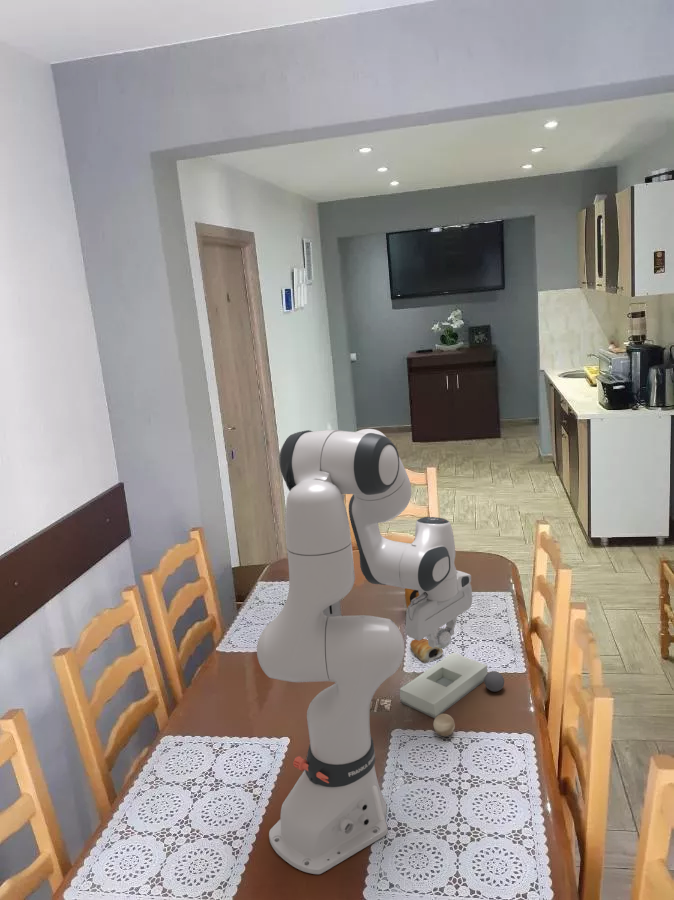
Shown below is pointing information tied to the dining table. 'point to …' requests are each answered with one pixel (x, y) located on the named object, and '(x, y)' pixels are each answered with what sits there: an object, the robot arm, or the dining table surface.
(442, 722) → the ash ball
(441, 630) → the steel ball
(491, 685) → the rubber ball
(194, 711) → the dining table surface
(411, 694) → the pocket board
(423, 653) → the pastry
